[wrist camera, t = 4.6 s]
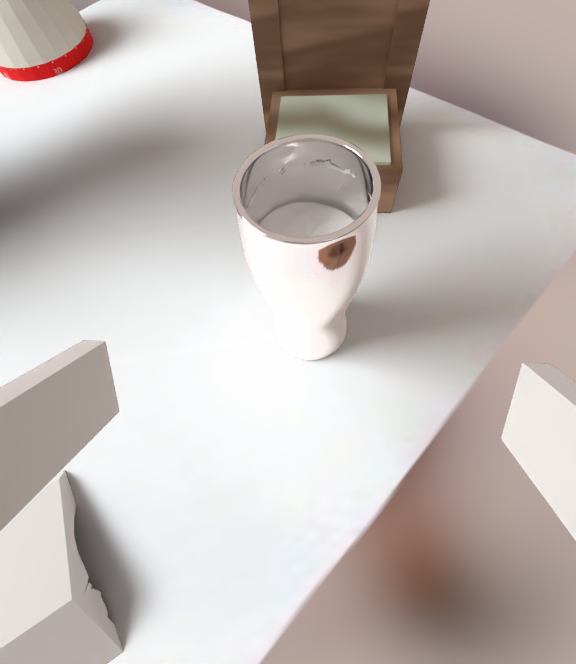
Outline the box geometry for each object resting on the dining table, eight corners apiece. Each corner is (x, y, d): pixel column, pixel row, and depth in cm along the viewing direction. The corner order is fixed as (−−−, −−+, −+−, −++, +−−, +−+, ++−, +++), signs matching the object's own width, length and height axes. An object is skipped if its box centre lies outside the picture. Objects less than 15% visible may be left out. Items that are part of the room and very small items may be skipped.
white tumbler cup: (312, 383, 27) (310, 278, 13) (251, 329, 29) (195, 190, 15) (368, 324, 28) (419, 174, 15) (307, 277, 31) (301, 110, 17)
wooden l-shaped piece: (405, 212, 33) (587, -330, 11) (254, 211, 34) (147, -272, 12) (397, 120, 38) (510, -366, 16) (267, 123, 40) (210, -323, 18)
